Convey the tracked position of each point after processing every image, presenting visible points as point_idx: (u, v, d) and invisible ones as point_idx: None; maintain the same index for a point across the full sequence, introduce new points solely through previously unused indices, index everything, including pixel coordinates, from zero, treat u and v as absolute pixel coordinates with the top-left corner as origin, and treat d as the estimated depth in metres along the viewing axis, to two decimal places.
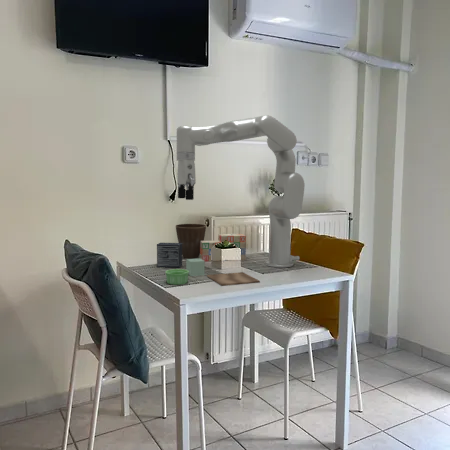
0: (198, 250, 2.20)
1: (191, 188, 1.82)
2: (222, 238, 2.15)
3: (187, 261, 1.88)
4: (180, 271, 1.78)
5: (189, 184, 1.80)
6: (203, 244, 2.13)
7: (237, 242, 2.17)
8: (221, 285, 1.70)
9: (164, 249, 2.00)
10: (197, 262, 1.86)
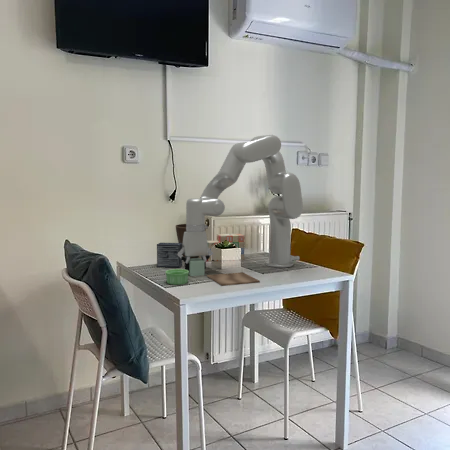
0: None
1: None
2: (222, 238, 2.15)
3: None
4: (180, 271, 1.78)
5: (209, 256, 1.89)
6: None
7: (236, 242, 2.18)
8: (221, 285, 1.70)
9: (164, 249, 2.00)
10: (197, 262, 1.86)
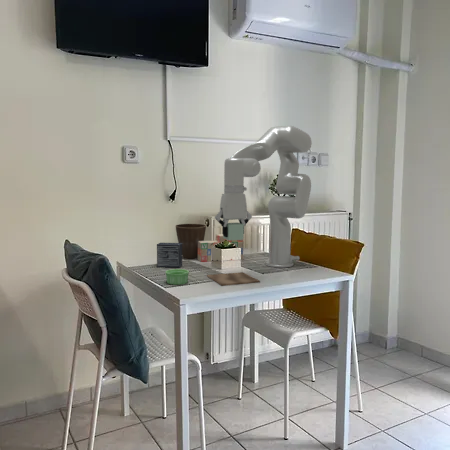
0: None
1: None
2: (221, 238, 2.15)
3: None
4: (180, 271, 1.78)
5: (248, 220, 1.79)
6: (202, 244, 2.12)
7: (235, 242, 2.18)
8: (221, 285, 1.70)
9: (164, 249, 2.00)
10: (236, 225, 1.75)
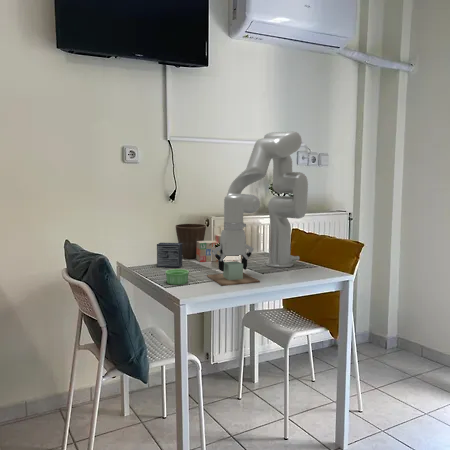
0: None
1: None
2: (219, 238, 2.15)
3: (224, 264, 1.80)
4: (180, 271, 1.78)
5: (250, 253, 1.81)
6: (200, 244, 2.12)
7: None
8: (221, 285, 1.70)
9: (164, 249, 2.00)
10: (235, 265, 1.77)
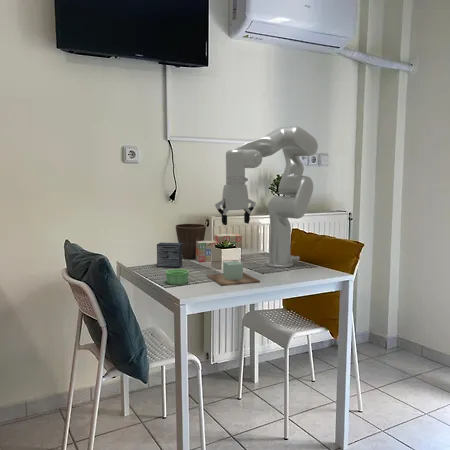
0: None
1: None
2: (219, 238, 2.14)
3: (224, 264, 1.80)
4: (180, 271, 1.78)
5: (253, 207, 1.84)
6: (200, 244, 2.12)
7: (234, 242, 2.17)
8: (221, 285, 1.70)
9: (164, 249, 2.00)
10: (235, 265, 1.77)
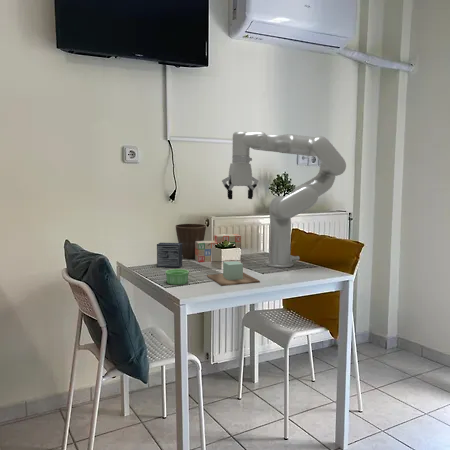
0: None
1: None
2: (218, 238, 2.14)
3: (224, 264, 1.80)
4: (180, 271, 1.78)
5: (256, 185, 2.04)
6: (199, 244, 2.12)
7: (233, 242, 2.17)
8: (221, 285, 1.70)
9: (164, 249, 2.00)
10: (235, 265, 1.77)
